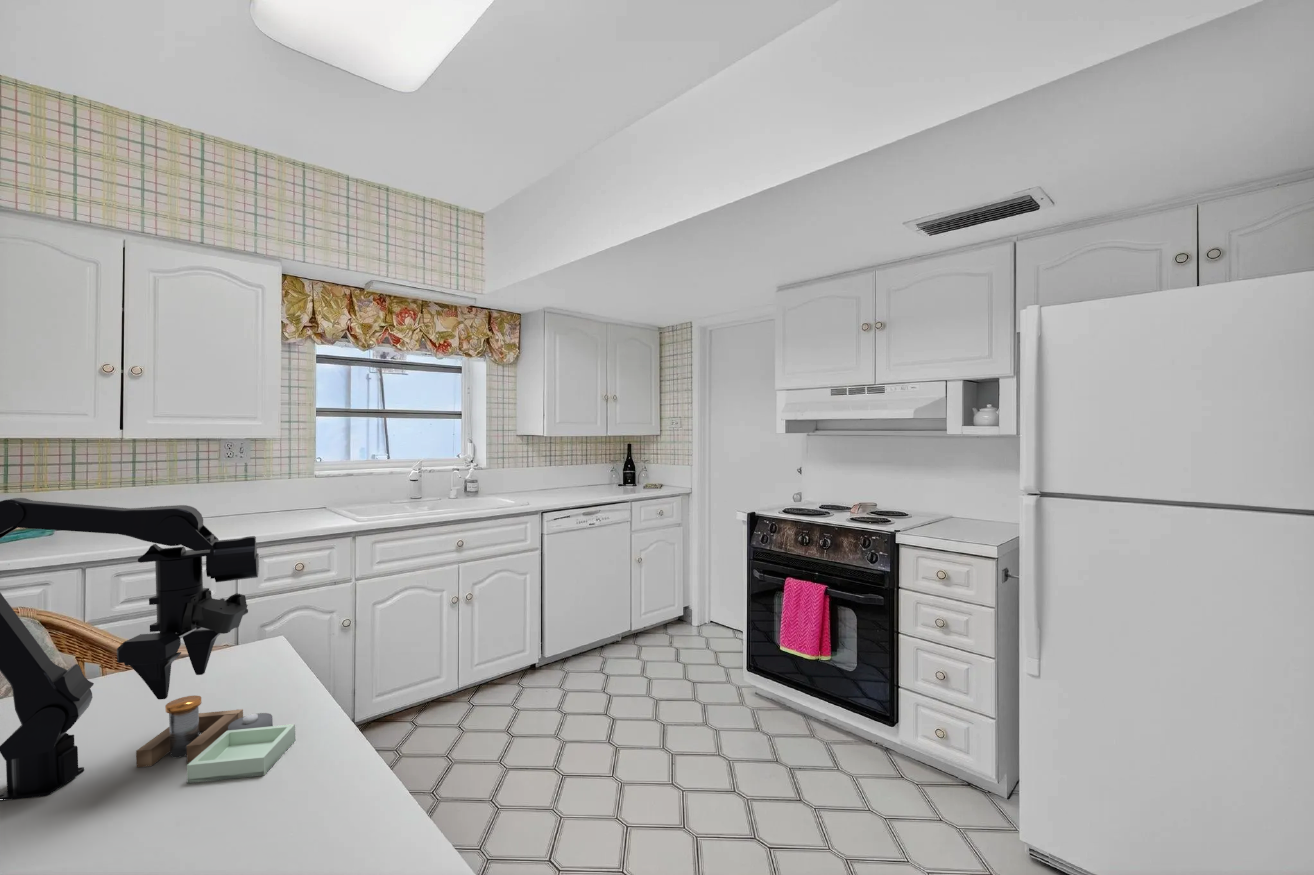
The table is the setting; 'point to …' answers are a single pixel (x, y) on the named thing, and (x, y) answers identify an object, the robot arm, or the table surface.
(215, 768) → the tray
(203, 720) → the brown u-shaped piece
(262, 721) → the pulley
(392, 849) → the table surface
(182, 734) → the pin
